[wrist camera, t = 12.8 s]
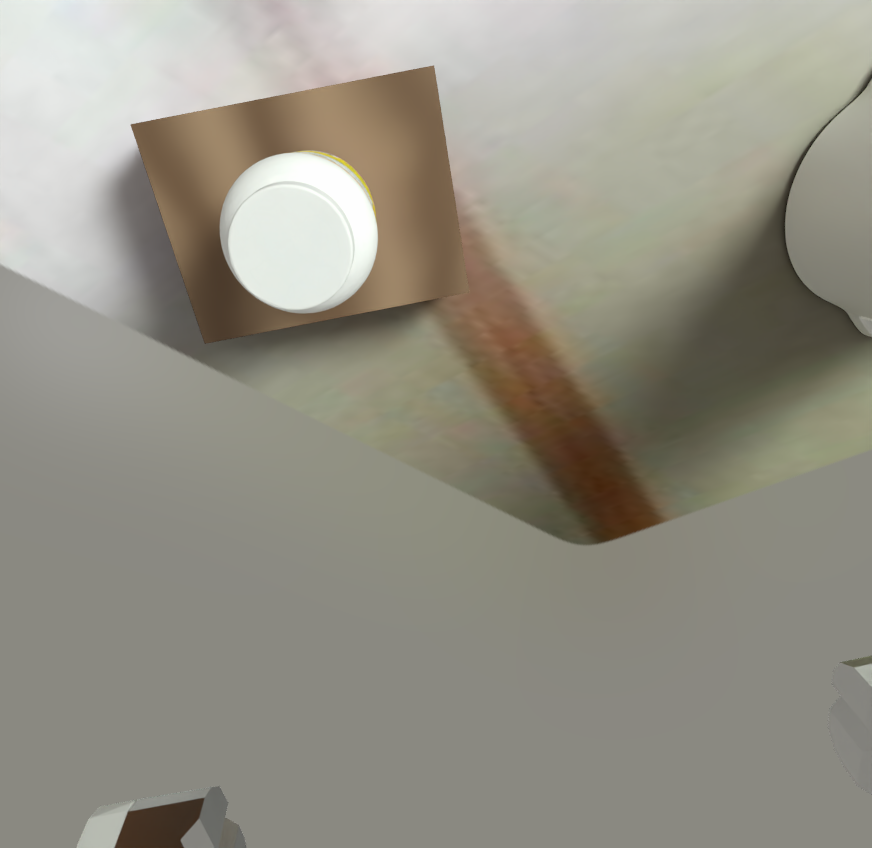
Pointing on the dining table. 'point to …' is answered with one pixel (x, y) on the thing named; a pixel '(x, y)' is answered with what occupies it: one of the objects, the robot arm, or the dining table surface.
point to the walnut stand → (327, 132)
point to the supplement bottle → (300, 231)
